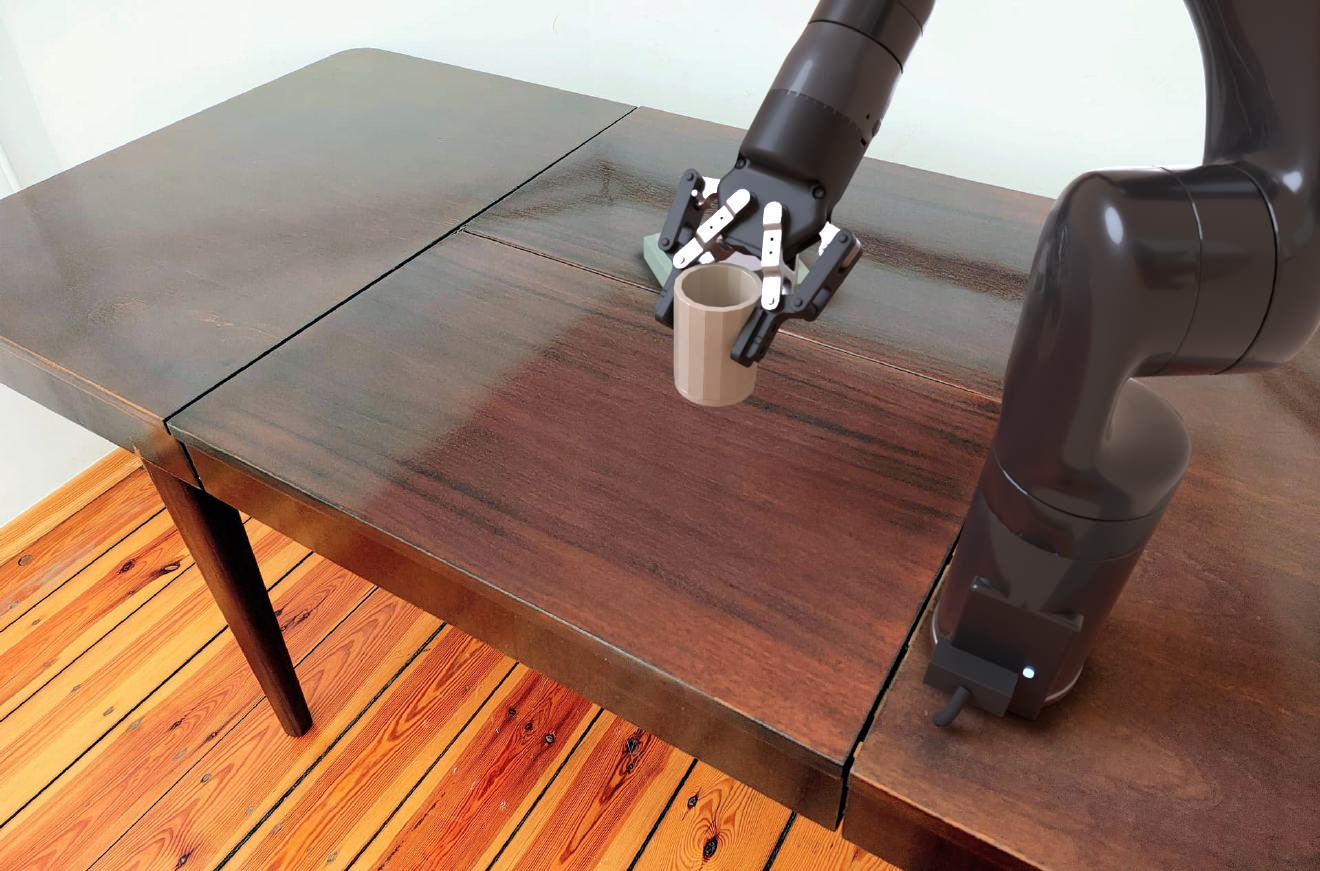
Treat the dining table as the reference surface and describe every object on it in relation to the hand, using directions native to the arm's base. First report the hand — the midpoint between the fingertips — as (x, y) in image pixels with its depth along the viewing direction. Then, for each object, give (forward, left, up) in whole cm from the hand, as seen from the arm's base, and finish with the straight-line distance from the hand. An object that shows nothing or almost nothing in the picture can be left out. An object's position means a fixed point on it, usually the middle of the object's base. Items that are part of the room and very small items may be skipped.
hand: (701, 343), depth 63 cm
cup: (+2, 0, -4) cm, 5 cm away
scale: (+27, +11, -14) cm, 32 cm away
